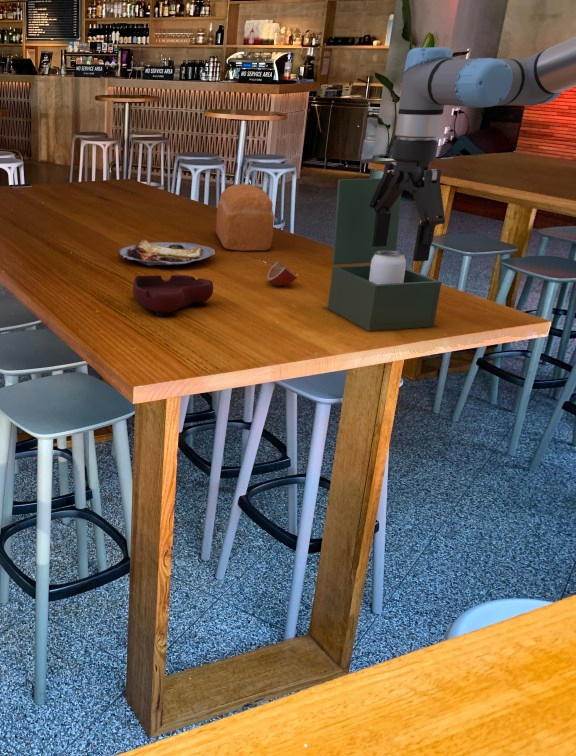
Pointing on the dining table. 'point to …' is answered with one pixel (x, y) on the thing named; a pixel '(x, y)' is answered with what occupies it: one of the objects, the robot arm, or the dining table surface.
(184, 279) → the ashtray
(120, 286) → the dining table surface
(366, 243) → the lid
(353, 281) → the chest
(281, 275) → the fruit slice
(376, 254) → the can
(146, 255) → the food plate
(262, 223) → the bread
